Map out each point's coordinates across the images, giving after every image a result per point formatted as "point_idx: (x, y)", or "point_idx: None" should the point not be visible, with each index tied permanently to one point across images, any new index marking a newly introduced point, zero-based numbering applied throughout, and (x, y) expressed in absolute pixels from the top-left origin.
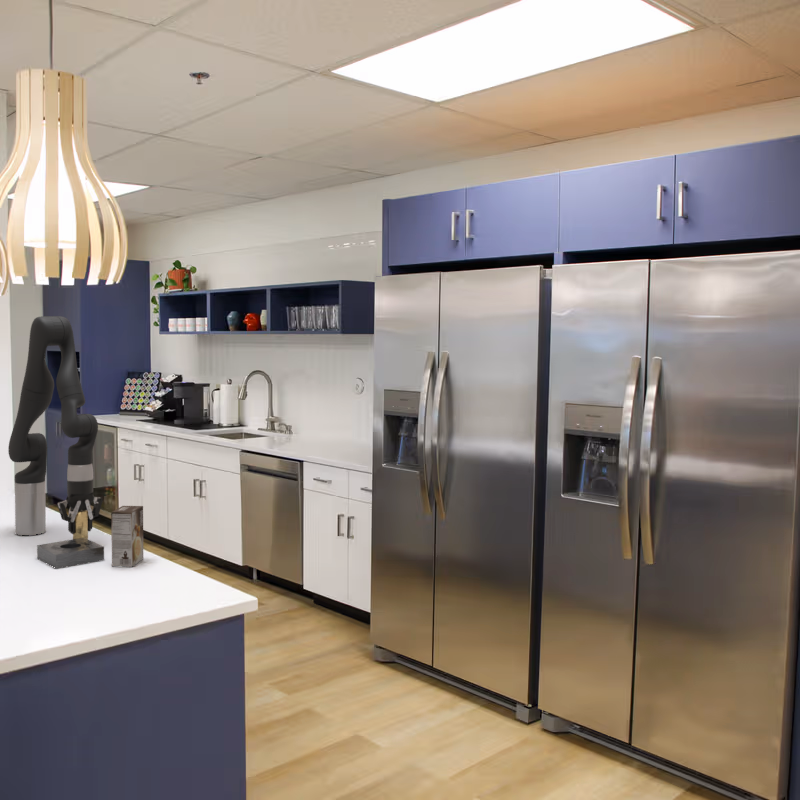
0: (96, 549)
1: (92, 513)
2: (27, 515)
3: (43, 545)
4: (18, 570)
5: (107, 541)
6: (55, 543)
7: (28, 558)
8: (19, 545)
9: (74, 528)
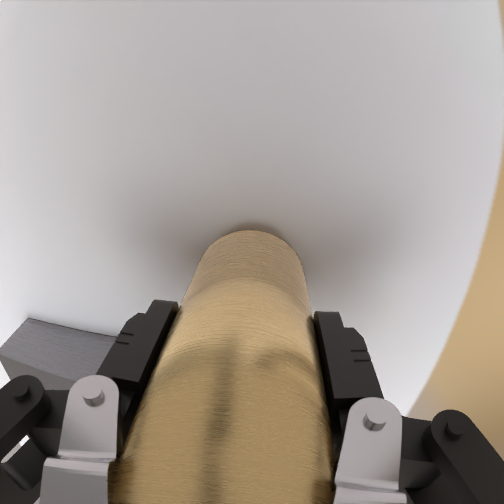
0: None
1: (403, 474)
2: None
3: (17, 375)
4: (3, 376)
5: (436, 258)
6: (58, 389)
7: (4, 291)
8: (17, 24)
9: None
